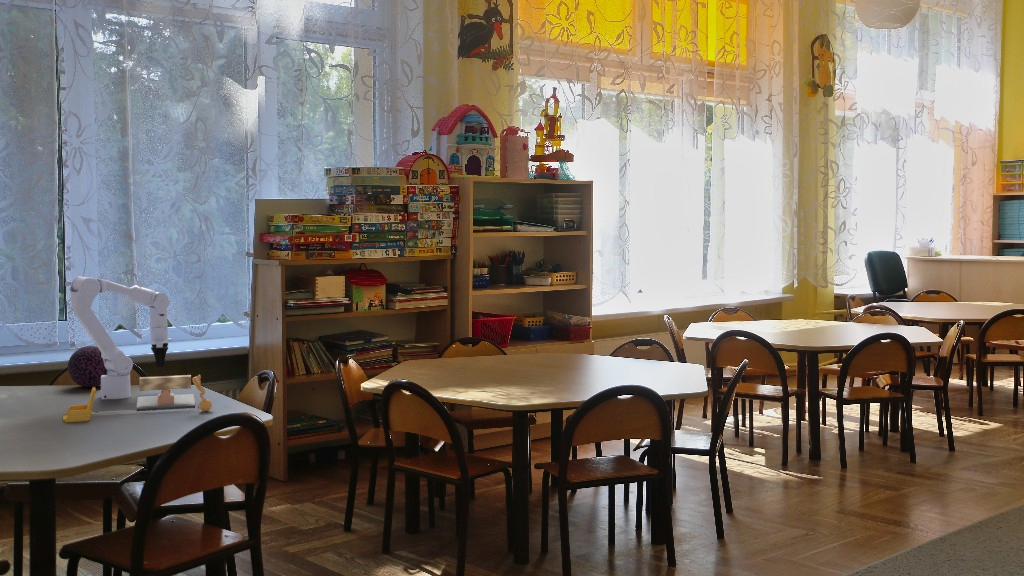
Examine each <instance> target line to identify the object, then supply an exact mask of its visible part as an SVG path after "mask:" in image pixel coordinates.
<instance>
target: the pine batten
mask: <svg viewBox="0 0 1024 576" xmlns="http://www.w3.org/2000/svg"><path fill="white" fill-rule="evenodd" d="M183 389H184V390H185V389H187V390H189V389H192V375H191V374H187V375H186V374H184V375H165V376H162V375H161V376H143V377H142V376H140V377H139V392H147V391H161V390H170V391H171V390H183Z"/></svg>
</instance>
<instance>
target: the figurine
mask: <svg viewBox="0 0 1024 576" xmlns="http://www.w3.org/2000/svg"><path fill="white" fill-rule="evenodd" d="M201 378H202V376H201V374H198V375H197V376H194V377H191V383H193V384H194V386H195V388H196V389H197V390H198V391H200V393H199V397H200V398H201V399H202V400H201V401H199V404H198V407H199V410H200V411H202V412H204V413H205V412H208V411H210V410H211V409H212V408H213V404H212V401H211V400H210V399H208V398H206V397H204V395H205V394H206V390H205V389H204V387H203V386H202V385H201V382H202V381H201Z"/></svg>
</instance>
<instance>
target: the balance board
mask: <svg viewBox="0 0 1024 576" xmlns="http://www.w3.org/2000/svg"><path fill="white" fill-rule="evenodd" d="M160 391H161V392H160V393H158V394H157V395H149V396H146V395H145V396H138V397H137V401H136V406H135V407H136V412H147V411H149V412H150V411H151V410H152V411H166V410H168V411H169V410H170V411H171V410H181V409H182V410H184V409H185V410H186V409H187V408H188V409H196V401H195V394H194V393H190V394H188V393H187V394H175V393H174V392H171V389H170V390H160Z"/></svg>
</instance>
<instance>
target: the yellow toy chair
mask: <svg viewBox="0 0 1024 576" xmlns="http://www.w3.org/2000/svg"><path fill="white" fill-rule="evenodd" d="M91 388H92V389H91V392H90V395H89V399H88V401H87V402H88V403H87V404H76V405H70V406H69V407H68V409H67V411H66V415H63V418H62V422H65V423H77V422H88V421H90V419H91V416H92V414H93V410H92V408H93V404H94V400H95V396H96V393H97V390H96V389H97V388H96V387H91Z"/></svg>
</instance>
